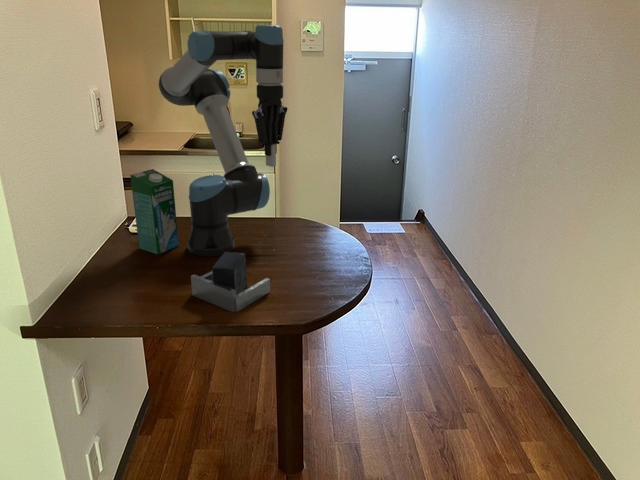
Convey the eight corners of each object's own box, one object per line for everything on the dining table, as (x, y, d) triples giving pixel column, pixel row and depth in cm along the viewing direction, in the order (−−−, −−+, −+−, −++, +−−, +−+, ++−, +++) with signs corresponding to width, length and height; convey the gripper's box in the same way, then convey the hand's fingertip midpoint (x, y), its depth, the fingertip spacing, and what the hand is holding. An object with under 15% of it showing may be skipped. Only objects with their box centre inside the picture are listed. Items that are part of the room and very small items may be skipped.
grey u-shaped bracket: (190, 294, 145) (189, 275, 143) (226, 276, 156) (225, 257, 153) (235, 313, 136) (234, 292, 134) (270, 291, 147) (269, 272, 145)
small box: (226, 284, 151) (224, 250, 147) (247, 286, 150) (246, 252, 146) (213, 301, 142) (210, 266, 138) (236, 304, 141) (234, 268, 137)
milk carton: (158, 254, 169) (150, 179, 159) (138, 248, 173) (129, 174, 164) (179, 245, 176) (172, 172, 166) (160, 239, 180) (152, 168, 171)
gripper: (264, 87, 142) (265, 172, 151) (294, 83, 151) (294, 163, 161) (243, 84, 146) (246, 167, 155) (275, 81, 156) (275, 159, 165)
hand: (270, 165), depth 158 cm, fingers closed
